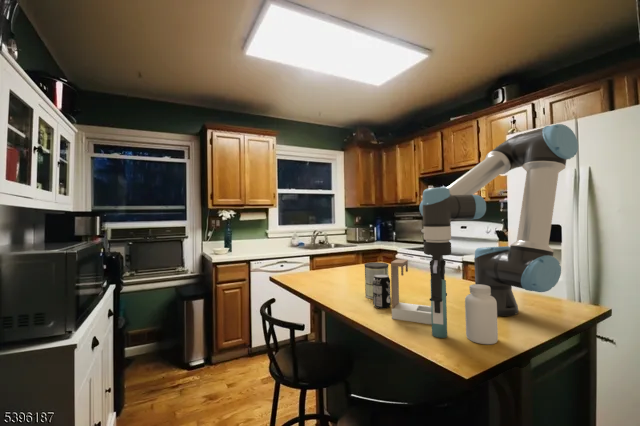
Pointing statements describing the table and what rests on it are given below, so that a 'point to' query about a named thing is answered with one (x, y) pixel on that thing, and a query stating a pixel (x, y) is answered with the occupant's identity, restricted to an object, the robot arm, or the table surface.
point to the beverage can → (381, 291)
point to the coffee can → (370, 271)
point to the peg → (440, 329)
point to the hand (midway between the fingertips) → (439, 320)
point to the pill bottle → (481, 315)
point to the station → (404, 309)
